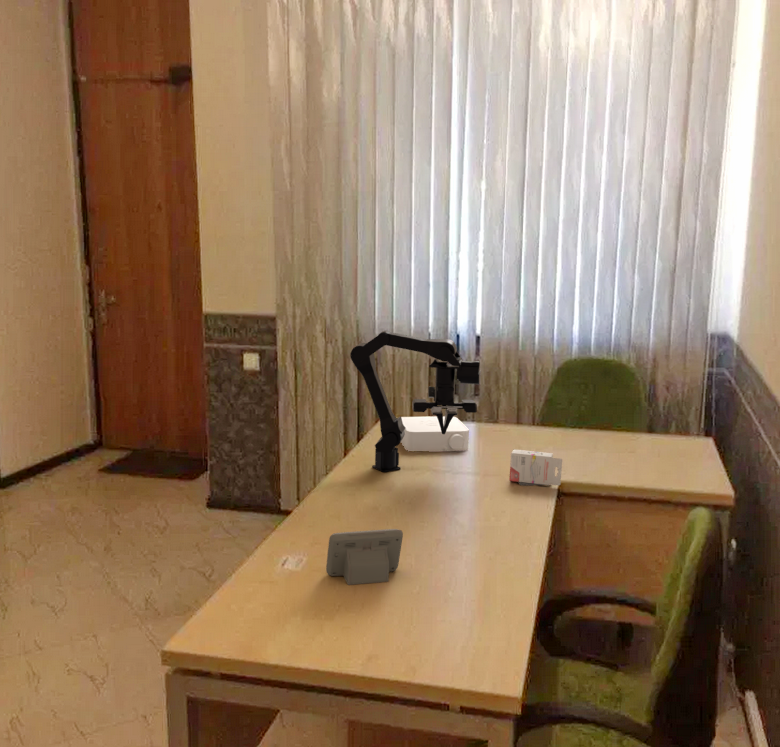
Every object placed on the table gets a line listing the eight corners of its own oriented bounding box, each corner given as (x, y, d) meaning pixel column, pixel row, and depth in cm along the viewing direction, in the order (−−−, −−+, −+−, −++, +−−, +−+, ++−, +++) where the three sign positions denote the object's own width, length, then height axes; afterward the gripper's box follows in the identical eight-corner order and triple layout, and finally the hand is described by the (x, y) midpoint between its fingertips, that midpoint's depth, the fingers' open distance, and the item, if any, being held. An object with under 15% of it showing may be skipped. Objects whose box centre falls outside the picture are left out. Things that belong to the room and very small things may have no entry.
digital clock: (400, 568, 194) (401, 522, 192) (403, 585, 185) (404, 537, 183) (326, 568, 193) (326, 522, 191) (325, 585, 184) (326, 537, 182)
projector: (408, 454, 285) (408, 433, 284) (395, 436, 307) (396, 417, 305) (471, 452, 288) (471, 432, 287) (454, 435, 310) (455, 416, 309)
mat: (519, 485, 254) (520, 483, 254) (512, 473, 266) (512, 471, 266) (547, 485, 255) (547, 483, 255) (538, 473, 267) (538, 471, 266)
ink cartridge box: (511, 476, 261) (561, 482, 257) (508, 481, 256) (560, 487, 252) (513, 448, 259) (563, 454, 256) (511, 452, 255) (562, 458, 251)
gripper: (472, 377, 268) (470, 427, 271) (411, 377, 267) (410, 427, 270) (478, 385, 257) (475, 436, 260) (414, 384, 256) (412, 436, 259)
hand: (443, 433), depth 262 cm, fingers closed
